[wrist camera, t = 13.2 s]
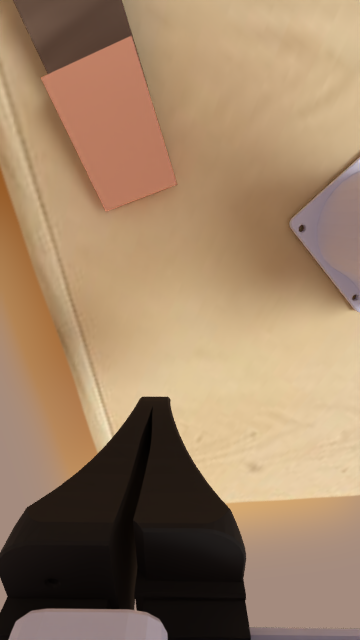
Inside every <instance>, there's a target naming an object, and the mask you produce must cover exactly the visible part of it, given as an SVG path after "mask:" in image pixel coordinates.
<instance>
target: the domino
mask: <svg viewBox="0 0 360 640" xmlns="http://www.w3.org/2000/svg"><path fill="white" fill-rule="evenodd" d="M13 1H14V3H15V5H16V7H17V9H18V12H19V14H20V16H21V18H22V20H23V22H24V24H25V26H26V29H27V31H28V33H29V35H30V37H31V39H32V41H33V43H34V46H35V48H36V50H37V52H38V54H39V56H40V58H41V60H42V63H43V65H44V67H45V69H46V71H47V73H48V74H50V73H52V72H54V71H56V70H58V69H60V68H63V67H65V66H67V65H69V64H71V63H73V62H76V61H78V60H80V59H82V58H84V57H86V56H89V55H91V54H93V53H95V52H97V51H99V50H101V49H104V48H106V47H108V46H110V45H112V44H114V43H117V42H119V41H121V40H123V39H125V38H127V37H130V36H132V33H131V30H130V26H129V23H128V20H127V16H126V13H125V10H124V6H123V3H122V0H13ZM132 39H133V36H132ZM133 42H134V40H133ZM134 45H135V43H134ZM135 49H136V46H135ZM136 52H137V50H136ZM137 55H138V53H137ZM138 58H139V56H138ZM139 62H140V60H139ZM140 65H141V63H140ZM141 68H142V66H141ZM142 71H143V70H142ZM143 75H144V73H143ZM144 78H145V76H144ZM145 81H146V80H145ZM146 84H147V83H146ZM147 88H148V86H147Z"/></svg>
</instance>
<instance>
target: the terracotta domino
mask: <svg viewBox="0 0 360 640" xmlns="http://www.w3.org/2000/svg"><path fill="white" fill-rule="evenodd" d="M41 79H42V81H43V83H44V86H45V88H46V90H47V92H48V94H49V96H50V98H51V100H52V102H53V104H54V106H55V108H56V110H57V112H58V114H59V116H60V118H61V120H62V123H63V125H64V127H65V129H66V131H67V133H68V135H69V137H70V139H71V141H72V143H73V145H74V147H75V149H76V151H77V153H78V155H79V157H80V160H81V162H82V164H83V166H84V168H85V170H86V172H87V174H88V176H89V178H90V180H91V182H92V184H93V186H94V188H95V190H96V192H97V194H98V197H99V199H100V201H101V203H102V205H103V207H104V209H105V211H109V210H112V209H114V208H117V207H119V206H122V205H125V204H127V203H130V202H132V201H135V200H138V199H140V198H143V197H146V196H148V195H151V194H153V193H156V192H159V191H161V190H164V189H167V188H169V187H172V186H174V185H177V182H176V179H175V176H174V172H173V169H172V166H171V163H170V159H169V156H168V153H167V149H166V146H165V143H164V140H163V136H162V133H161V130H160V127H159V123H158V120H157V117H156V114H155V110H154V107H153V104H152V101H151V97H150V94H149V91H148V88H147V84H146V81H145V78H144V75H143V71H142V68H141V65H140V62H139V58H138V55H137V52H136V49H135V45H134V42H133V39H132V36H130V37H127V38H125V39H123V40H121V41H119V42H117V43H114V44H112V45H110V46H108V47H106V48H104V49H101V50H99V51H97V52H95V53H93V54H91V55H89V56H86V57H84V58H82V59H80V60H78V61H76V62H73V63H71V64H69V65H67V66H65V67H63V68H60V69H58V70H56V71H54V72H52V73H50V74H47V75H45V76H43V77H41Z"/></svg>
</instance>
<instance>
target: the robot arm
mask: <svg viewBox="0 0 360 640" xmlns="http://www.w3.org/2000/svg"><path fill="white" fill-rule="evenodd" d="M301 225H303V226H304V230H303V231H302V232H300V231H299V227H300V226H301ZM289 226H290V228H291V229H292V231H293V232H294V233H295V234H296V236H297V237H298V238H299V240H300V241H301V242H302V243H303V245H304V246H305V247H306V248H307V250H308V251H309V252H310V254H311V255H312V256H313V257H314V259H315V260H316V261H317V263H318V264H319V265H320V266H321V268H322V269H323V270H324V271H325V273H326V274H327V275H328V277H329V278H330V279H331V280H332V282H333V283H334V284H335V286H336V287H337V288H338V289H339V291H340V292H341V293H342V294H343V296H344V297H345V298H346V300H347V301H348V302H349V303H350V305H351V306H352V307H353V309H354V310H356V311H357V312H360V157H359V158H358V159H357V160H356V161H354V162H353V163H352V164H351V165H350V166H349V167H348V168H347V169H346V170H344V171H343V172H342V173H341V174H340V175H339V176H338V177H337V178H336V179H334V180H333V181H332V182H331V183H330V184H329V185H328V186H327V187H326V188H325V189H323V190H322V191H321V192H320V193H319V194H318V195H317V196H316V197H315V198H313V199H312V200H311V201H310V202H309V203H308V204H307V205H306V206H305V207H303V208H302V209H301V210H300V211H299V212H298V213H297V214H296V215H295V216H293V217H292V219H291V220H290V222H289ZM355 294H356V297H355V299H352V297H353V296H354V295H355ZM245 562H246V552H245V547H244V543H243V540H242V537H241V534H240V531H239V529H238V526H237V523H236V521H235V519H234V516H233V514H232V512H231V510H230V509H229V508H228V506H227V505H226V504H225V503H224V502H223V501H222V500H221V499H220V498H219V496H218V495H217V494H216V493H215V492H214V490H213V489H212V488H211V487H210V485H209V484H208V483H207V481H206V480H205V478H204V477H203V476H202V474H201V473H200V471H199V470H198V468H197V467H196V465H195V464H194V462H193V460H192V459H191V457H190V455H189V453H188V451H187V450H186V448H185V446H184V444H183V441H182V439H181V437H180V435H179V432H178V430H177V427H176V424H175V421H174V418H173V415H172V411H171V406H170V398H169V397H142V398H140V400H139V402H138V403H137V405H136V407H135V408H134V410H133V411H132V413H131V414H130V416H129V417H128V418H127V420H126V421H125V423H124V424H123V425H122V427H121V428H120V429H119V430H118V432H117V433H116V434H115V435H114V436H113V438H112V439H111V440H110V441H109V442H108V443H107V445H106V446H105V447H104V448H103V449H102V450H101V451H100V452H99V453H98V454H97V455H96V456H95V457H94V458H93V459H92V460H91V461H90V462H89V463H87V465H85V466H84V467H83V468H82V469H81V470H80V471H79V472H78V473H76V474H75V475H73V476H72V477H71V478H70V479H68V480H67V481H66V482H64V483H63V484H62V485H61V486H59V487H58V488H56V489H55V490H53V491H52V492H51V493H49V494H47V495H46V496H44V497H43V498H41V499H40V500H38V501H37V502H35V503H34V504H32V505H30V506H29V507H27V508H26V510H25V511H24V513H23V514H22V516H21V517H20V519H19V520H18V522H17V523H16V525H15V527H14V528H13V530H12V532H11V534H10V536H9V538H8V539H7V541H6V543H5V545H4V547H3V549H2V550H1V552H0V578H1V581H2V583H3V586H4V588H5V591H6V593H7V596H8V597H7V600H6V602H5V604H4V606H3V608H2V610H1V612H0V640H360V629H358V628H274V627H271V628H270V627H249V622H248V616H247V610H246V604H245V600H246V593H245V587H244V581H243V577H244V570H245ZM135 599H136V608H137V611H135V610H134V604H135Z"/></svg>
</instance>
